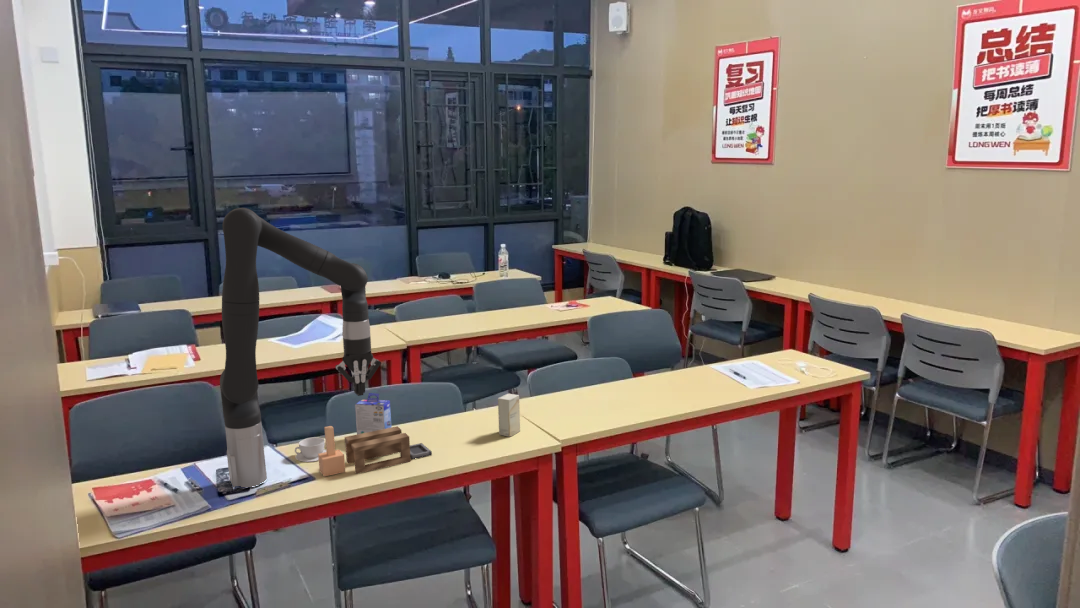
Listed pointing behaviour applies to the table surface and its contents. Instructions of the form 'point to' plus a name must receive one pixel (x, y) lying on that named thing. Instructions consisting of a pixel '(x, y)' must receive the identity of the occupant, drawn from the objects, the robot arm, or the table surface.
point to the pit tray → (419, 451)
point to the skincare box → (509, 414)
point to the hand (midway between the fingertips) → (359, 394)
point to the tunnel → (377, 448)
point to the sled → (331, 456)
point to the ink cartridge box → (372, 414)
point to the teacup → (310, 449)
